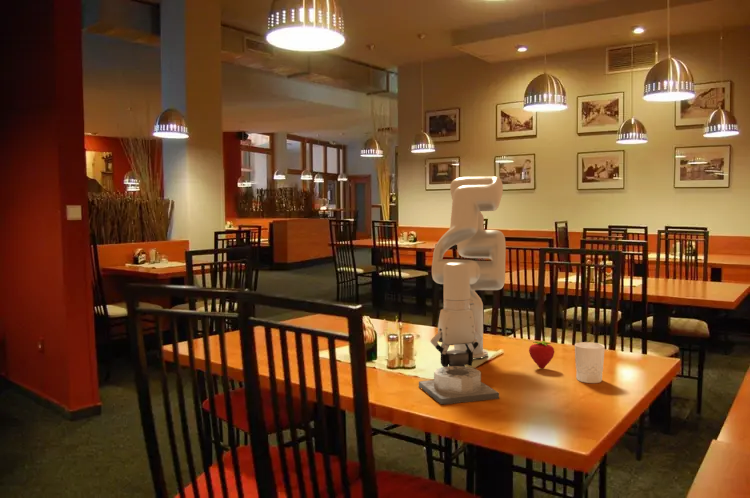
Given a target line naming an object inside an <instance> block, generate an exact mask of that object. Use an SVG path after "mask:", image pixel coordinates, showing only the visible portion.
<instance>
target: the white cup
mask: <svg viewBox="0 0 750 498" xmlns="http://www.w3.org/2000/svg"><path fill="white" fill-rule="evenodd" d="M574 353H575V354H574V357H575V359H574V360H575V369H576V370H575V372H576V375H575V377H576V380H577V381H578V382H582V383H586V384H598V383H601V382H602V381H603V371H604V364H605V363H604V360H605V345H604V344H602V343H599V342H592V341H591V342H589V341H584V342H583V341H580V342H576V343H574Z"/></svg>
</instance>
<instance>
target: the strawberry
mask: <svg viewBox="0 0 750 498" xmlns="http://www.w3.org/2000/svg"><path fill="white" fill-rule="evenodd" d="M542 339H543V340H542V341H532V343H534V344H531V345H530V346H529V349H528V352H529V356H530V358H531V359H532V360H533V362H534V363H535V365H536V366H538V368H539V369H545V368H546V366H547V365H549V363H550V362H551V360H552V359H553V358H554V357H555V356H554V355H555V347H553V345H551V344H552V343H550V342H547V341H546V340H545V338H544V337H542Z"/></svg>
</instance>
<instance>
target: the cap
mask: <svg viewBox="0 0 750 498" xmlns="http://www.w3.org/2000/svg"><path fill="white" fill-rule="evenodd" d="M450 350H451V351H450ZM450 350H447V354H448V367H449V366H463V367H466V365H467V364H468V363H469V353H468V352H466V351H461V350H452V349H450Z"/></svg>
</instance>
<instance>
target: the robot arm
mask: <svg viewBox="0 0 750 498" xmlns="http://www.w3.org/2000/svg"><path fill="white" fill-rule="evenodd" d="M449 189H450V195H451V199H452V203H451V213H450V214H451V215H450V216H451V217H450V227H449V229H448V230H447V231H446V232H445V233H444V234H442V236H441V237H440V238H439V240H438V241H437V243H436V244H435V246H434V249H433V254H432V262H431V277H432V281H434V282H435V283H436V284H440V285H443V308H442V309H440V311H439V312H440V313H439V318H438V324H437V332H436V334H435V335H434V336H433V337H432V338H430V343H431V345H432V346H433V347H434V348H435V349H436V350H437V351H438V352H439V353H440V364H441V366H442V367H449V364H448V354H447V351H451V350H461V351H466V352H468V353H469V363H468V364H466V365H467V366H469V367H470V366H471V367H472V365H473V361H474V359H473V358H481V357H485V356H487V355H488V353H489V352H488V351H487V350H485V349H484V304H483V301H482V298H481V297H480V295H478V293H477V292H476V291H499V290H502V289H503V287H504V285H505V283H506V282H505V281H506V258H507V257H506V256H507V255H506V254H507V252H506V250H507V247H506V244H507V243H506V237H505V235H504V233H503V232H502V231H501V230H497V229H484V224H485V223H484V218H485V217H484V215H483V213H482V212H495V211H496V210H498V208H499V206H500V203H501V200H502V197H503V193H504V192H503V191H504V185H503V181H502V179H501V178H500V177H498V176H494V175H493V176H492V175H491V176H488V175H487V176H462V177H457V178H455V179H453V180H452V181H451V183H450V188H449ZM453 246H457V253H458V255H459V256H461V257H462V258H465V259H459V258H458V259H450V258H449V259H447V258H446V259H443V258H444V256H445V254H446V252H447V251H448V250H449V249H450V248H452V247H453ZM466 258H468V259H466ZM472 259H473V260H472ZM474 259H489V260H474ZM438 342H439V343H441V345H440V344H439V343H438ZM450 346H453V348H452V349H450V350H449V348H450ZM487 357H488V356H487ZM485 358H486V357H485ZM481 359H482V358H481Z"/></svg>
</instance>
